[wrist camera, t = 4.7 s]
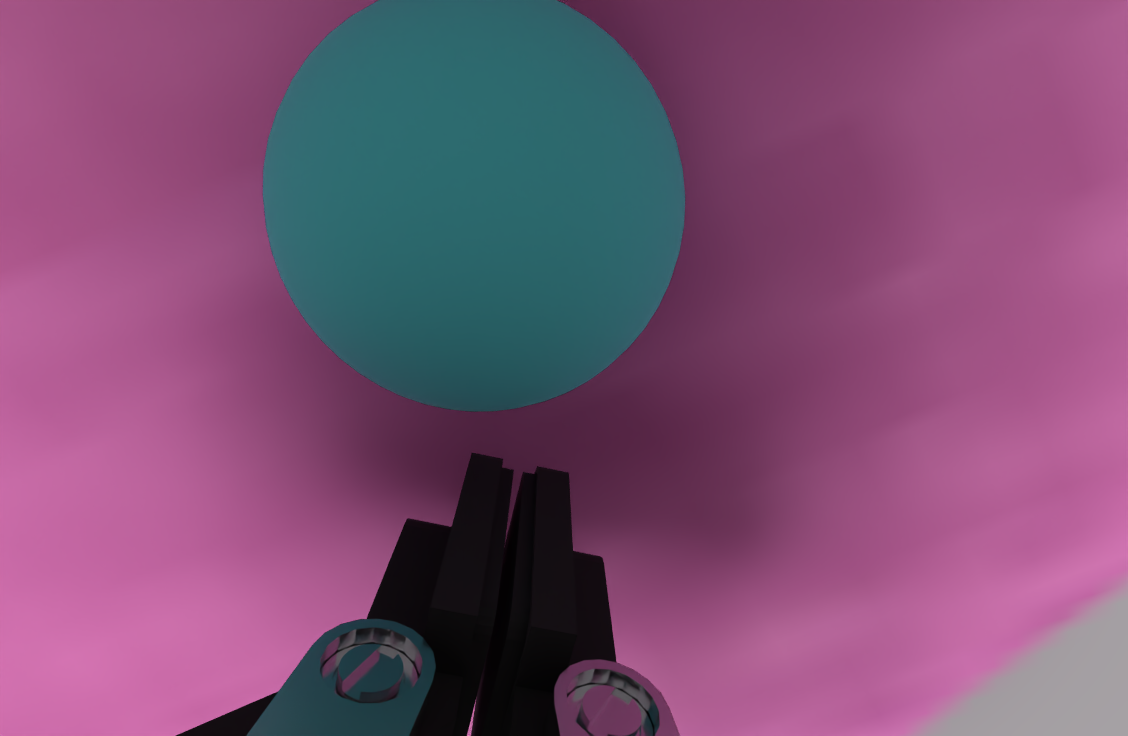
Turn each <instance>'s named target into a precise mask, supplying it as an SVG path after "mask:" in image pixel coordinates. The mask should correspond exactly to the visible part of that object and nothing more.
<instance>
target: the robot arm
mask: <svg viewBox="0 0 1128 736" xmlns="http://www.w3.org/2000/svg"><path fill="white" fill-rule="evenodd" d="M502 463H503V459H501V458H496V457H491V456H486V455H481V454H477V453H472V454H471V458H470V461H469V465H468V469H467V472H466V476H465V480H464V484H463V487H462V491H461V495H460V498H459V502H458V506H457V509H456V513H455V517H454V520H453V524H452V527H449V526H444V525H439V524H434V523H429V522H424V521H419V520H414V519H409V518H408V519H407V520H406V522H405V524H404V527H403V529H402V532H401V534H400V537H399V539H398V542H397V544H396V547H395V549H394V552H393V554H392V557H391V559H390V562H389V564H388V567H387V569H386V572H385V574H384V577H383V579H382V582H381V584H380V587H379V589H378V592H377V594H376V597H375V599H374V602H373V604H372V607H371V609H370V612H369V614H368V617H367V619H359V620H355V621H351V622H347V623H344V624H340V625H338V626H337V627H335V628H333V629H331V630H329V631H327V632H325V633H324V634H323V635H322V636H321V637H320V638H319V639H318V640H317V641H316V642H315V643H314V644H313V645H312V646H311V648H310V649H309V650H308V652H307V653H306V655H305V656H304V657H303V659H302V660H301V661H300V663H299V664H298V666H297V667H296V668H295V670H294V671H293V672H292V674H291V675H290V677H289V678H288V679H287V681H286V682H285V683H284V685H283V686H282V688H281V689H280V690H279V691H278V692H276V693H273V694H271V695H269V696H267V697H264V698H262V699H260V700H257V701H255V702H253V703H250V704H248V705H246V706H243V707H241V708H239V709H236V710H234V711H232V712H229V713H227V714H225V715H222V716H220V717H218V718H216V719H213V720H211V721H209V722H206V723H204V724H202V725H199V726H197V727H195V728H192V729H190V730H188V731H185V732H183V733H181V734H178V735H176V736H467V733H468V729H469V725H470V721H471V717H472V713H473V709H474V705H475V711H474V718H473V726H472V733H471V736H680V734H679V732H678V729H677V727H676V724H675V721H674V719H673V716H672V713H671V711H670V708H669V706H668V705H667V703H666V701H665V699H664V697H663V696H662V694H661V693H660V692H659V690H658V689H657V688H656V687H655V686H654V685H653V684H652V683H651V682H650V681H649V680H648V679H646V678H645V677H644V676H642V675H641V674H639V673H638V672H636V671H635V670H633V669H631V668H629V667H626V666H624V665H622V664H619V663H616V655H615V647H614V640H613V632H612V624H611V616H610V608H609V600H608V592H607V585H606V577H605V569H604V562H603V558H602V557H600V556H596V555H591V554H586V553H580V552H575V551H573V542H572V524H571V505H570V486H569V473H568V472H563V471H558V470H553V469H548V468H544V467H539V466H537V468H536V471H535V474H531V473H526V472H523V474H522V478H521V482H520V486H519V490H518V494H517V498H516V502H515V506H514V510H513V514H512V518H511V522H510V527H509V531H508V535H507V539H506V543H505V538H506V529H507V521H508V513H509V505H510V497H511V488H512V480H513V472H514V470H512V469H507V468H502ZM504 546H505V547H504ZM475 701H476V704H475Z"/></svg>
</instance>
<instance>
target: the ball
mask: <svg viewBox="0 0 1128 736" xmlns="http://www.w3.org/2000/svg"><path fill="white" fill-rule="evenodd" d="M263 202H264V212H265V222H266V229H267V233H268V238H269V242H270V247H271V251H272V254H273V257H274V260H275V263H276V266H277V268H278V271H279V274H280V277H281V279H282V281H283V283H284V285H285V287H286V289H287V291H288V293H289V295H290V297H291V299H292V301H293V302H294V304H295V305H296V307H297V308H298V310H299V312H300V313H301V315H302V316H303V318H304V319H305V321H306V322H307V323H308V325H309V326H310V327H311V328H312V329H313V331H314V332H315V333H316V334H317V335H318V337H319V338H320V339H321V340H322V341H323V342H324V343H325V344H326V345H327V346H328V347H329V348H330V349H331V350H332V351H333V352H334V353H335V354H336V355H337V356H338V357H339V358H340V359H341V360H343V361H344V362H345V363H347V364H348V365H349V366H350V367H352V368H353V369H354V370H356V371H357V372H358V373H359V374H361V375H363V376H364V377H366V378H368V379H369V380H371V381H373V382H374V383H376V384H377V385H379V386H381V387H383V388H385V389H387V390H389V391H391V392H394V393H396V394H398V395H400V396H402V397H405V398H408V399H411V400H414V401H417V402H420V403H423V404H426V405H431V406H435V407H440V408H444V409H451V410H460V411H470V412H478V411H500V410H508V409H516V408H520V407H524V406H528V405H532V404H536V403H540V402H544V401H547V400H549V399H552V398H555V397H557V396H560V395H562V394H565V393H567V392H569V391H571V390H573V389H575V388H577V387H578V386H580V385H582V384H584V383H586V382H588V381H589V380H590V379H592V378H593V377H595V376H596V375H597V374H599V373H600V372H602V371H603V370H604V369H606V368H607V367H608V366H609V365H610V364H611V363H612V362H614V361H615V360H616V359H617V358H618V357H619V356H620V355H621V354H622V353H623V352H624V351H625V350H627V349H628V348H629V347H630V345H631V344H632V343H633V342H634V341H635V340H636V338H637V337H638V336H639V335H640V334H641V332H642V331H643V330H644V329H645V327H646V326H647V324H648V323H649V321H650V320H651V318H652V316H653V315H654V313H655V312H656V310H657V308H658V307H659V305H660V303H661V301H662V298H663V296H664V294H665V292H666V290H667V288H668V285H669V283H670V280H671V277H672V274H673V271H674V268H675V265H676V261H677V258H678V255H679V252H680V246H681V240H682V235H683V229H684V216H685V189H684V178H683V169H682V164H681V160H680V155H679V151H678V146H677V142H676V139H675V136H674V133H673V131H672V128H671V125H670V122H669V120H668V117H667V114H666V112H665V110H664V108H663V106H662V104H661V102H660V100H659V98H658V96H657V94H656V92H655V90H654V89H653V87H652V85H651V83H650V82H649V81H648V79H647V78H646V76H645V75H644V73H643V72H642V71H641V69H640V68H639V66H638V65H637V64H636V62H635V61H634V60H633V59H632V57H631V56H630V55H629V54H628V53H627V52H626V51H625V50H624V49H623V48H622V47H621V46H620V45H619V43H618V42H617V41H616V40H615V39H614V38H613V37H611V36H610V35H609V34H608V33H606V32H605V31H604V30H603V29H602V28H600V27H599V26H598V25H597V24H595V23H594V22H593V21H592V20H591V19H589V18H587V17H586V16H584V15H582V14H581V13H579V12H577V11H576V10H574V9H572V8H571V7H569V6H567V5H566V4H564V3H562V2H559V1H557V0H378V1H377V2H375V3H373V4H371V5H370V6H368V7H366V8H364V9H362V10H361V11H359V12H357V13H355V14H354V15H352V16H351V17H349V18H348V19H347V20H346V21H344V22H343V23H342V24H340V25H339V26H338V27H337V28H335V29H334V30H333V31H332V32H330V33H329V34H328V35H327V36H326V37H325V38H324V39H323V40H322V41H321V43H320V44H319V45H318V46H317V47H316V48H315V49H314V50H313V51H312V52H311V53H310V54H309V56H308V57H307V58H306V60H305V61H304V63H303V64H302V66H301V67H300V69H299V70H298V72H297V73H296V75H295V76H294V78H293V79H292V81H291V83H290V85H289V87H288V89H287V91H286V94H285V96H284V98H283V100H282V102H281V104H280V106H279V108H278V110H277V112H276V115H275V119H274V122H273V125H272V128H271V131H270V135H269V138H268V143H267V149H266V155H265V161H264V168H263Z"/></svg>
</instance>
